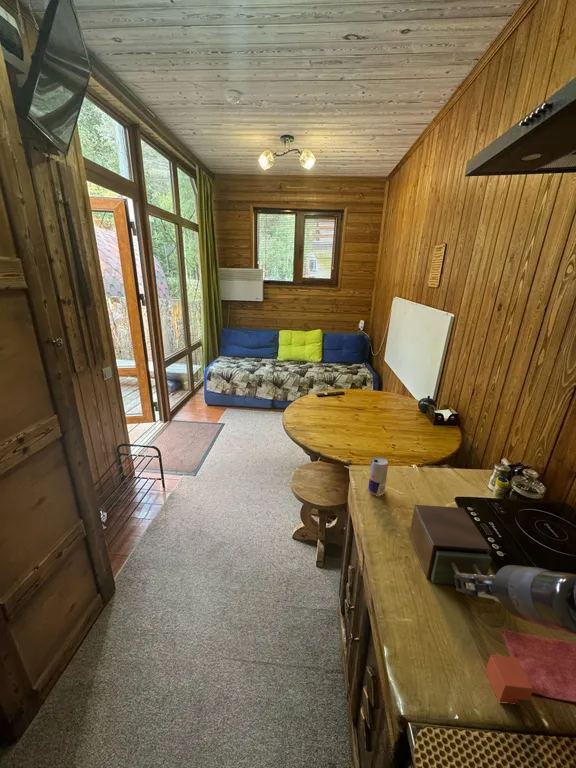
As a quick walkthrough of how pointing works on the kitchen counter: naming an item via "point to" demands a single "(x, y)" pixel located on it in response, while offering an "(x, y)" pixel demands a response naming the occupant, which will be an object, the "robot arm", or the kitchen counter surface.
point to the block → (508, 679)
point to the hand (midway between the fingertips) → (481, 583)
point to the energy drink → (378, 476)
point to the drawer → (458, 564)
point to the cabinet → (443, 533)
